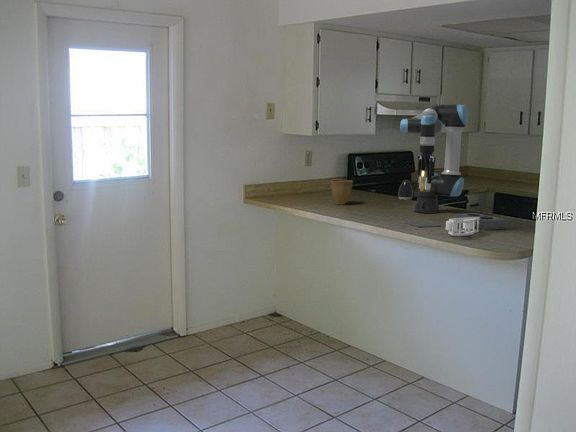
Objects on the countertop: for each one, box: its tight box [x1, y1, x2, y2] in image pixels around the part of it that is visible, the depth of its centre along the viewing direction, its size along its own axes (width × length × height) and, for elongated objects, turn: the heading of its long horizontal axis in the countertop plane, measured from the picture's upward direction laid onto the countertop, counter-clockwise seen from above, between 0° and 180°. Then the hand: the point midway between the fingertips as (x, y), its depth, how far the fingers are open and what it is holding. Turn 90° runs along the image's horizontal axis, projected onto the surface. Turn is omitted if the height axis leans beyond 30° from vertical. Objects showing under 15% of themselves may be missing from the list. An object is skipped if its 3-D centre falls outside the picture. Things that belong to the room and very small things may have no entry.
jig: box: [455, 212, 506, 231], centre depth 323 cm, size 24×13×5 cm, turn 20°
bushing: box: [420, 169, 430, 192], centre depth 319 cm, size 5×5×11 cm
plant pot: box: [330, 179, 354, 204], centre depth 397 cm, size 15×15×16 cm
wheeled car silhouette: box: [445, 217, 480, 237], centre depth 300 cm, size 20×11×7 cm, turn 116°
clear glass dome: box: [397, 179, 414, 201], centre depth 420 cm, size 10×10×15 cm
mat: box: [404, 220, 442, 228], centre depth 323 cm, size 14×14×1 cm
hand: (424, 188), depth 320 cm, fingers closed on bushing, 5 cm apart
